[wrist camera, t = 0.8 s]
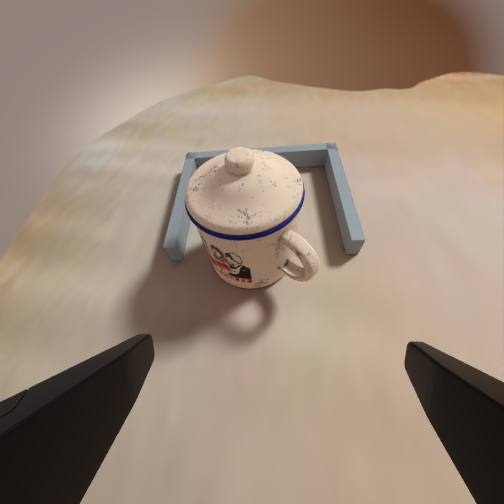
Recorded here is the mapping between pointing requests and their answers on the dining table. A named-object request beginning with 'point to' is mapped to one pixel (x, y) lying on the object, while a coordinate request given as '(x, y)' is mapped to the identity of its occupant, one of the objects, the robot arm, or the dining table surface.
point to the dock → (298, 158)
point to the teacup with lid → (250, 217)
